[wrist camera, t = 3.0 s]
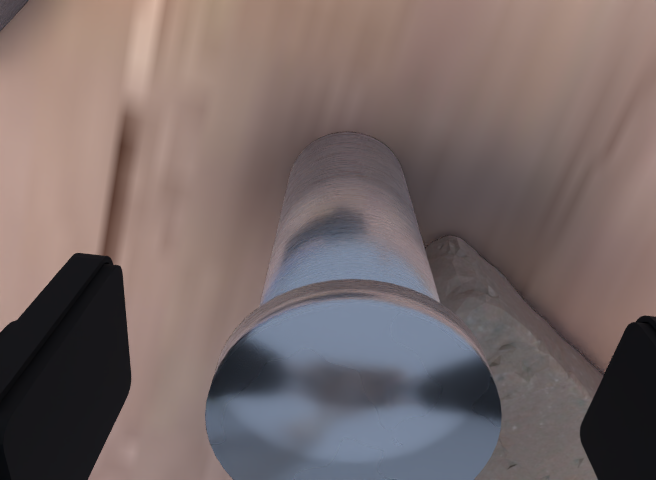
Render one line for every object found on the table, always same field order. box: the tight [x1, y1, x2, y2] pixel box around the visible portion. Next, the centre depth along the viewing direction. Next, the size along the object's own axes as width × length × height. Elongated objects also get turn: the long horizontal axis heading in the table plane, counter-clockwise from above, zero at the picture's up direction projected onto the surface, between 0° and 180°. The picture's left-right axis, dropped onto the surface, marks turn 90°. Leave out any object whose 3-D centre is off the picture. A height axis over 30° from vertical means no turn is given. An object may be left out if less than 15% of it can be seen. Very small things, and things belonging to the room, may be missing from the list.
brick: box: [425, 235, 603, 480], centre depth 22 cm, size 16×8×5 cm, turn 45°
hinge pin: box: [205, 132, 502, 480], centre depth 14 cm, size 5×5×11 cm
